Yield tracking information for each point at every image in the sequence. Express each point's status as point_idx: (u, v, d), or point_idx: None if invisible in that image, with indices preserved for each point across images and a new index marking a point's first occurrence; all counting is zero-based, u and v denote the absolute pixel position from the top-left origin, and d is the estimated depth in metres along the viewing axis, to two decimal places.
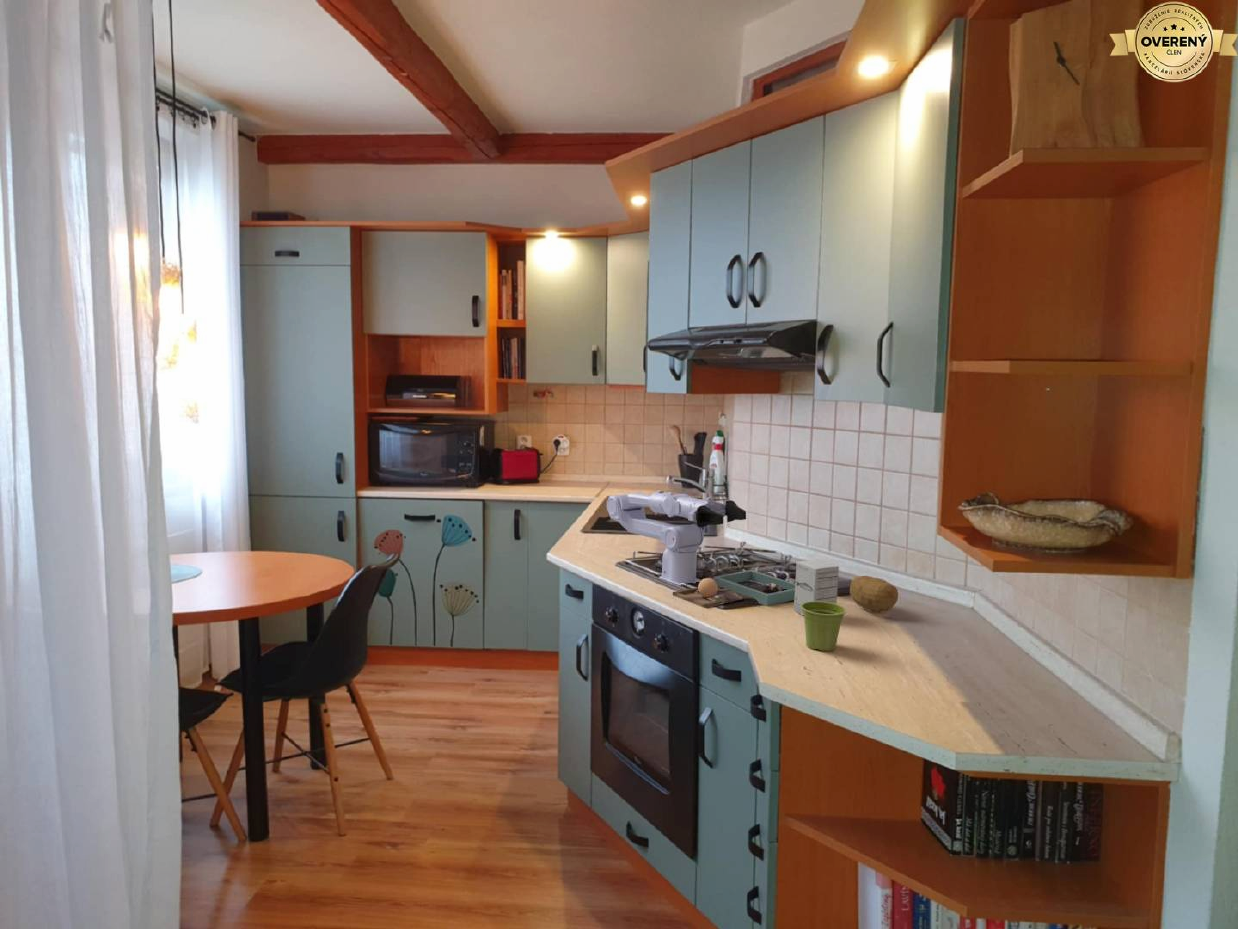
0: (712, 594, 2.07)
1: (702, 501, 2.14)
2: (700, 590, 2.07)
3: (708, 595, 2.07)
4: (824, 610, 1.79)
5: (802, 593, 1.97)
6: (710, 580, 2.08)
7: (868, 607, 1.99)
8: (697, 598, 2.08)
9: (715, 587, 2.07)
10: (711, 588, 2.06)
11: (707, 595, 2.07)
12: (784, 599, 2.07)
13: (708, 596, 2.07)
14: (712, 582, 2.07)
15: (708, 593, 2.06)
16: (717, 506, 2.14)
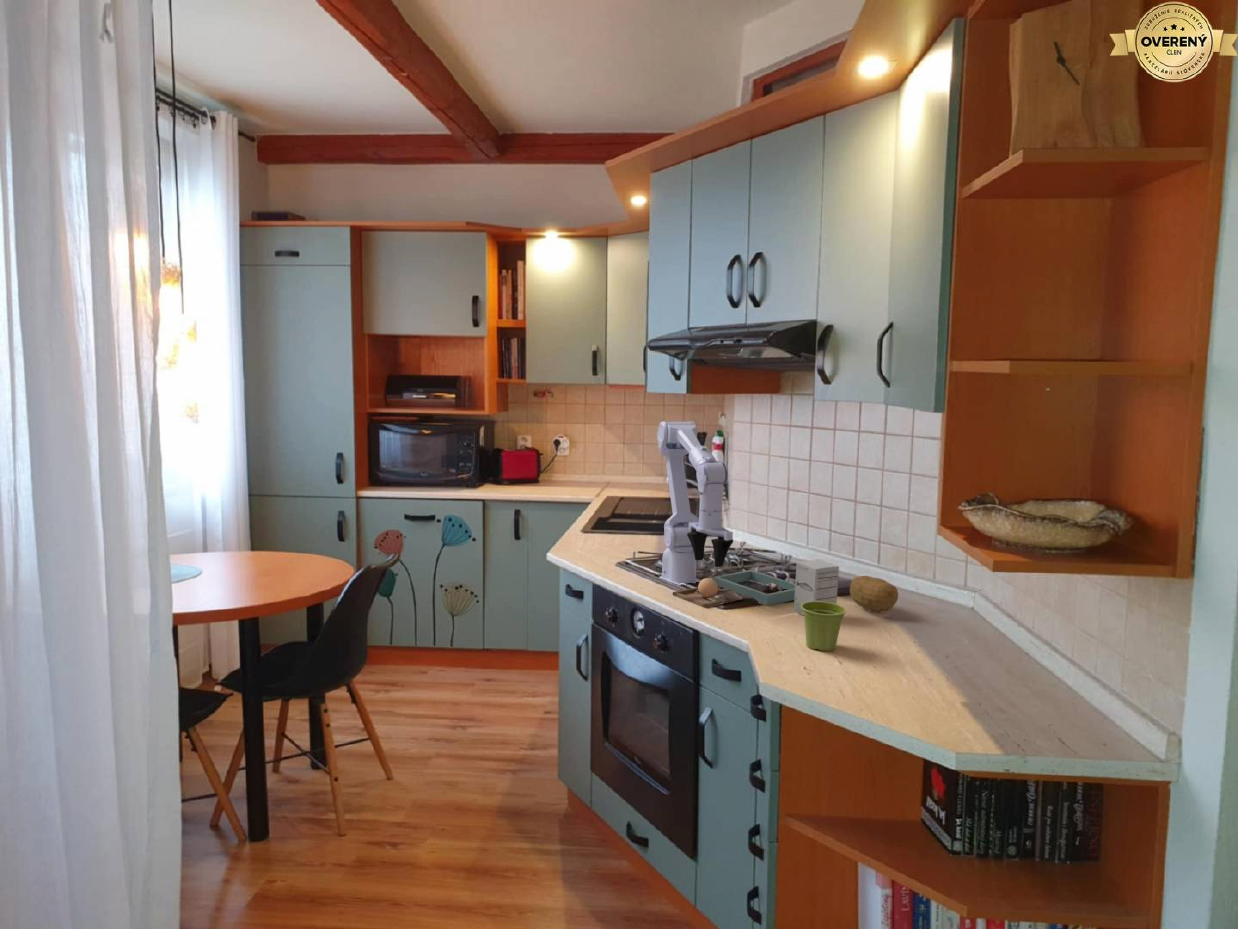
0: (712, 594, 2.07)
1: (699, 521, 2.06)
2: (700, 590, 2.07)
3: (708, 595, 2.07)
4: (824, 610, 1.79)
5: (802, 593, 1.97)
6: (710, 580, 2.08)
7: (868, 607, 1.99)
8: (697, 598, 2.08)
9: (715, 587, 2.07)
10: (711, 588, 2.06)
11: (707, 595, 2.07)
12: (784, 599, 2.07)
13: (708, 596, 2.07)
14: (712, 582, 2.07)
15: (708, 593, 2.06)
16: None
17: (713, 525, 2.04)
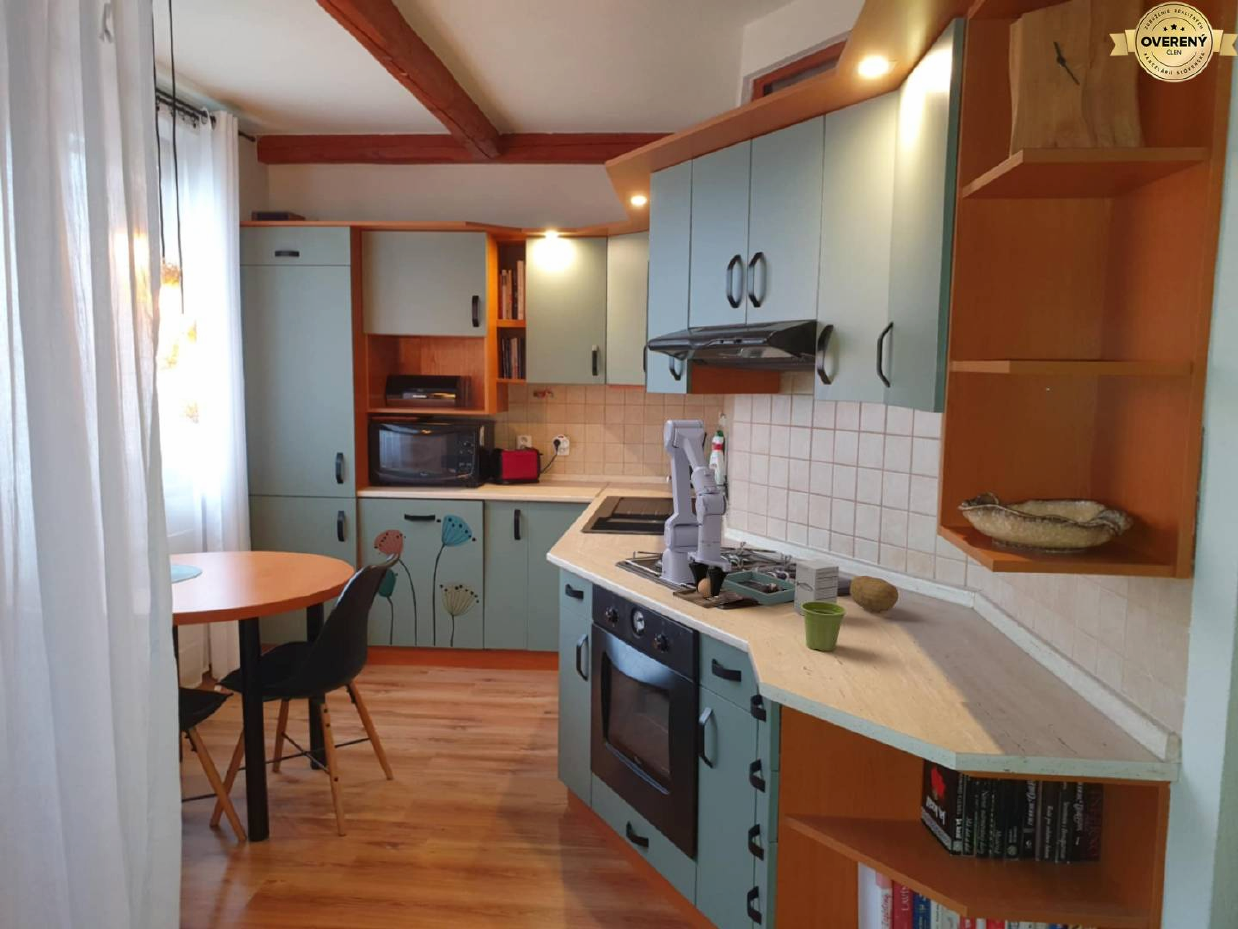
0: None
1: (698, 552, 2.07)
2: (700, 590, 2.07)
3: (708, 595, 2.07)
4: (824, 610, 1.79)
5: (802, 593, 1.97)
6: None
7: (868, 607, 1.99)
8: (697, 598, 2.08)
9: None
10: None
11: (707, 595, 2.07)
12: (784, 599, 2.07)
13: (708, 596, 2.07)
14: None
15: (708, 593, 2.06)
16: None
17: (712, 556, 2.05)
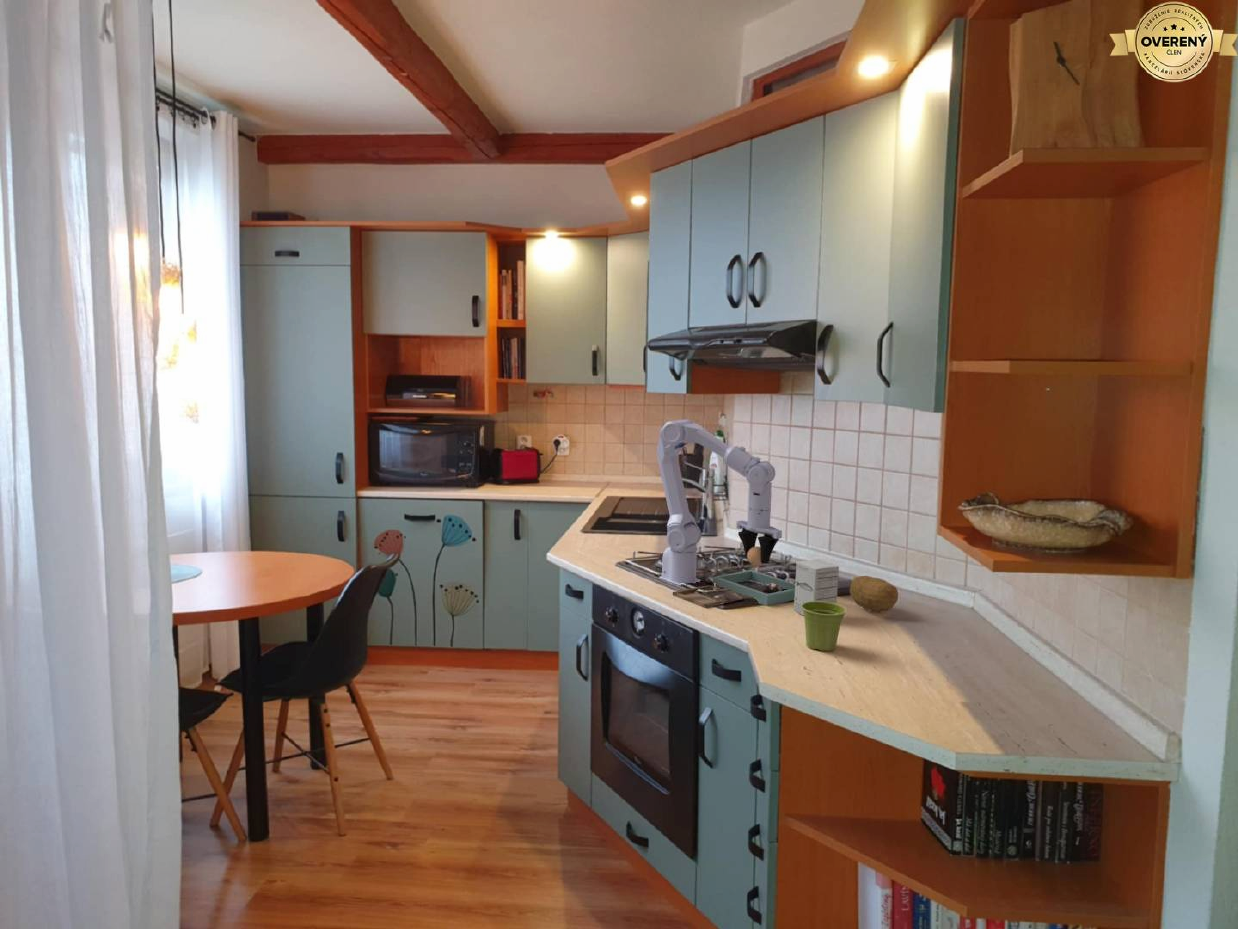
0: None
1: (749, 520, 2.11)
2: (749, 558, 2.12)
3: (757, 562, 2.11)
4: (824, 610, 1.79)
5: (802, 593, 1.97)
6: (759, 548, 2.12)
7: (868, 607, 1.99)
8: (697, 598, 2.08)
9: None
10: (760, 556, 2.11)
11: (756, 562, 2.11)
12: (784, 599, 2.07)
13: (757, 564, 2.12)
14: None
15: (757, 560, 2.11)
16: None
17: (762, 524, 2.09)
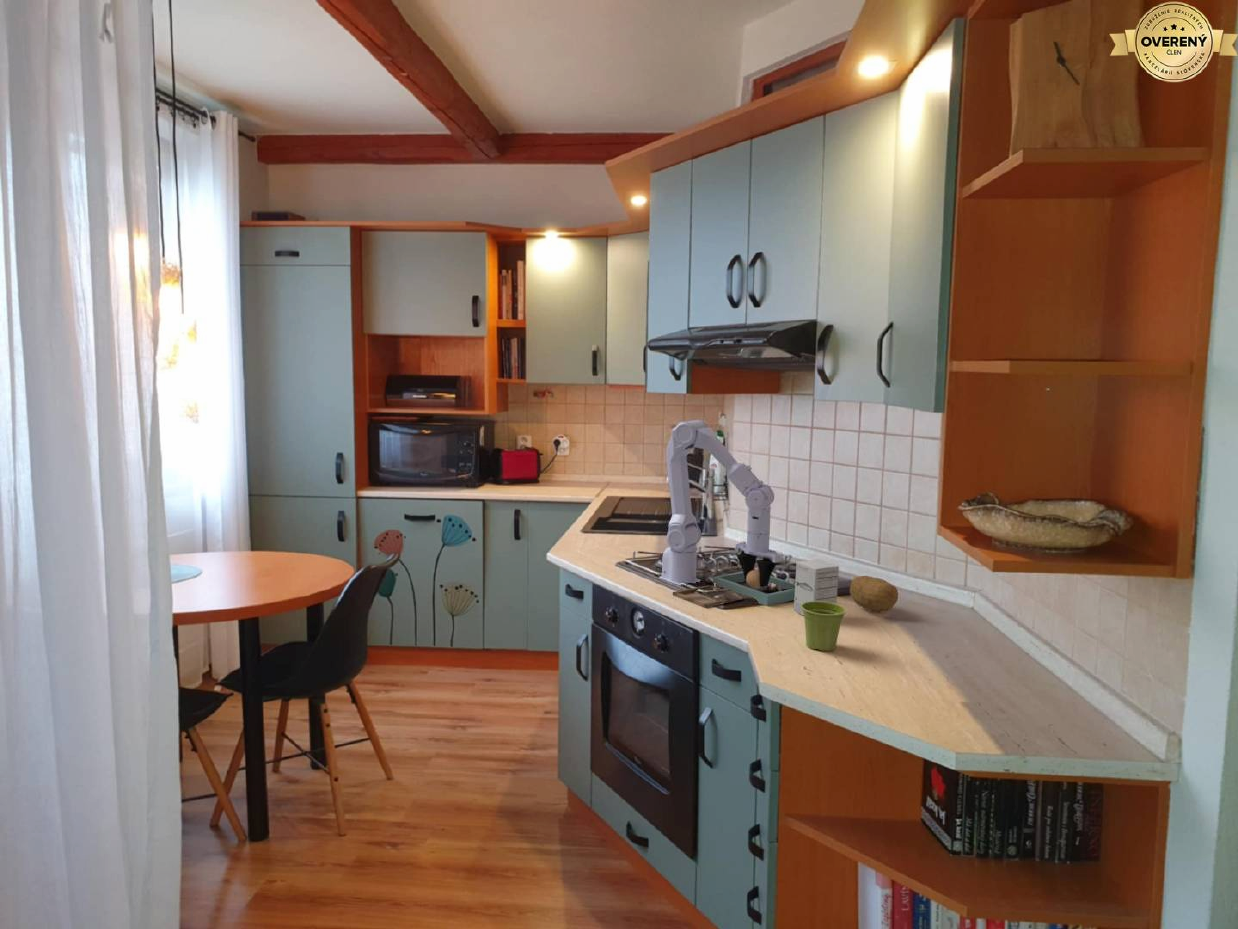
0: None
1: (748, 543, 2.12)
2: (748, 581, 2.13)
3: (756, 586, 2.12)
4: (824, 610, 1.79)
5: (802, 593, 1.97)
6: (758, 571, 2.13)
7: (868, 607, 1.99)
8: (697, 598, 2.08)
9: None
10: (759, 579, 2.12)
11: (755, 586, 2.12)
12: (784, 599, 2.07)
13: (756, 587, 2.13)
14: None
15: (756, 584, 2.12)
16: None
17: (761, 547, 2.10)
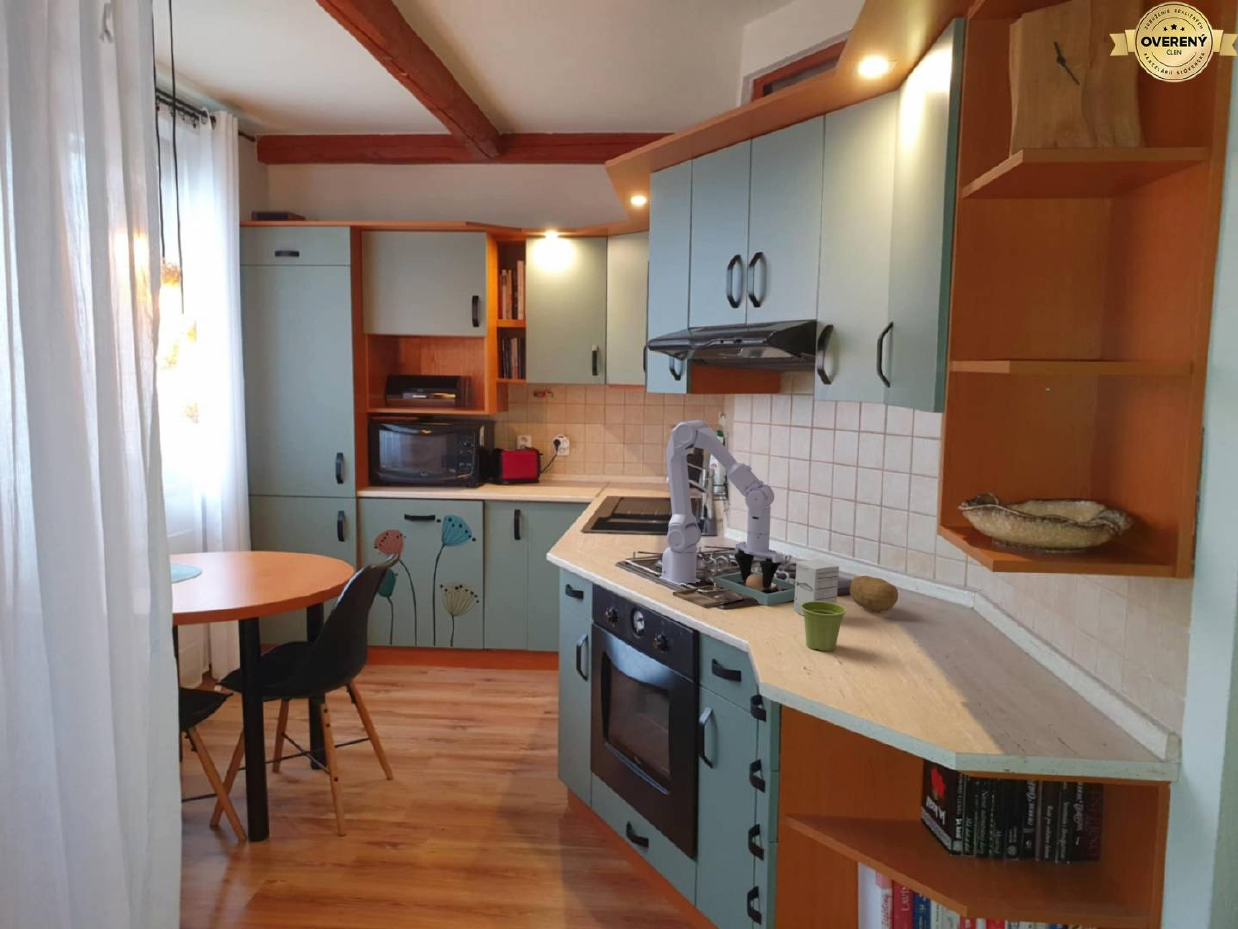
0: (760, 589, 2.12)
1: (748, 543, 2.12)
2: (748, 585, 2.13)
3: None
4: (824, 610, 1.79)
5: (802, 593, 1.97)
6: (758, 575, 2.13)
7: (868, 607, 1.99)
8: (697, 598, 2.08)
9: None
10: (759, 583, 2.12)
11: None
12: (784, 599, 2.07)
13: None
14: (760, 577, 2.13)
15: (755, 588, 2.12)
16: None
17: (761, 547, 2.10)
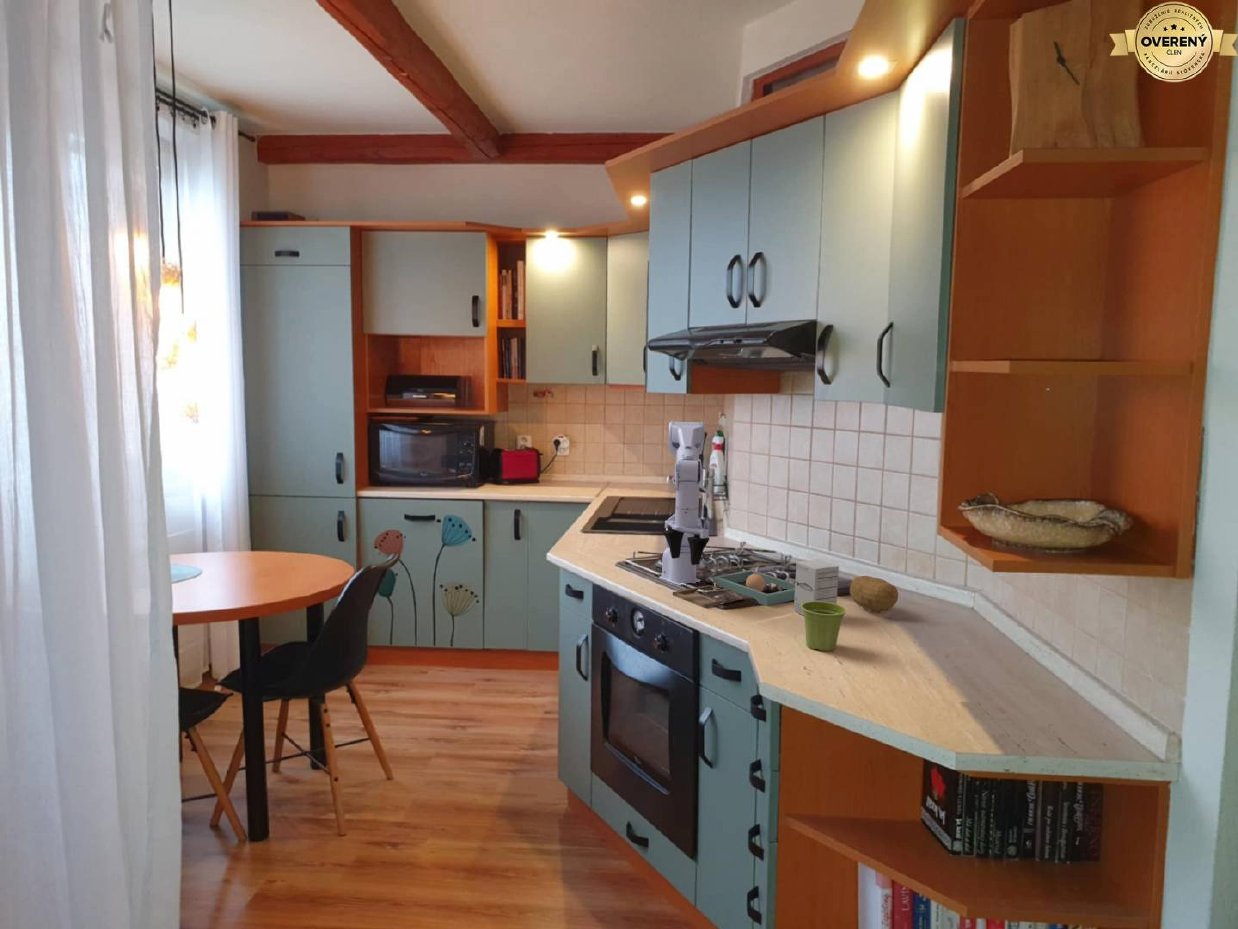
0: (760, 589, 2.12)
1: (676, 519, 2.05)
2: (748, 585, 2.13)
3: None
4: (824, 610, 1.79)
5: (802, 593, 1.97)
6: (758, 575, 2.13)
7: (868, 607, 1.99)
8: (697, 598, 2.08)
9: (763, 582, 2.13)
10: (759, 583, 2.12)
11: (755, 589, 2.12)
12: (784, 599, 2.07)
13: None
14: (760, 577, 2.13)
15: (755, 588, 2.12)
16: None
17: (689, 523, 2.03)
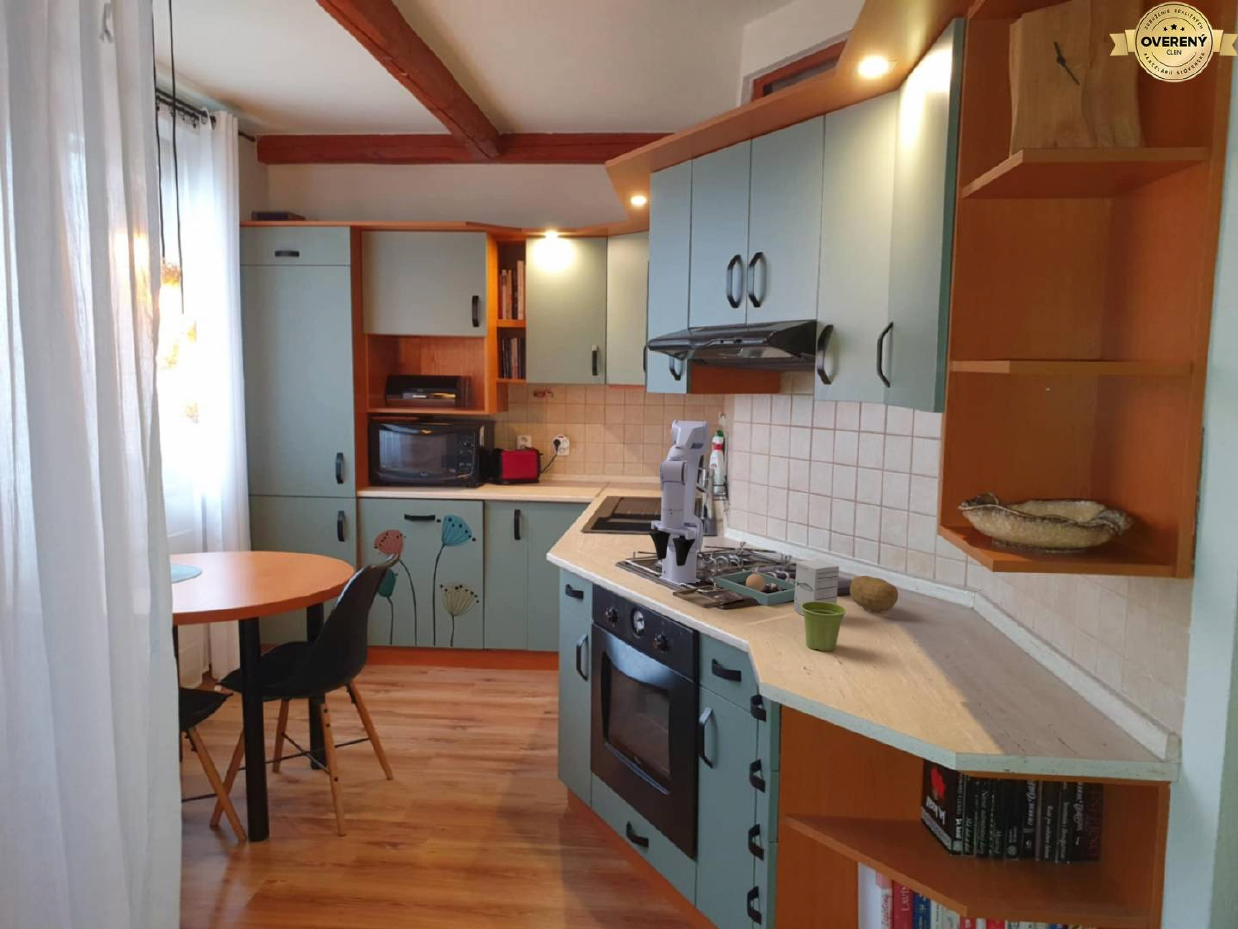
0: (760, 589, 2.12)
1: (661, 520, 2.04)
2: (748, 585, 2.13)
3: None
4: (824, 610, 1.79)
5: (802, 593, 1.97)
6: (757, 575, 2.13)
7: (868, 607, 1.99)
8: (697, 598, 2.08)
9: (763, 581, 2.13)
10: (759, 583, 2.12)
11: (755, 589, 2.12)
12: (784, 599, 2.07)
13: None
14: (759, 577, 2.13)
15: (755, 587, 2.12)
16: None
17: (675, 524, 2.02)
